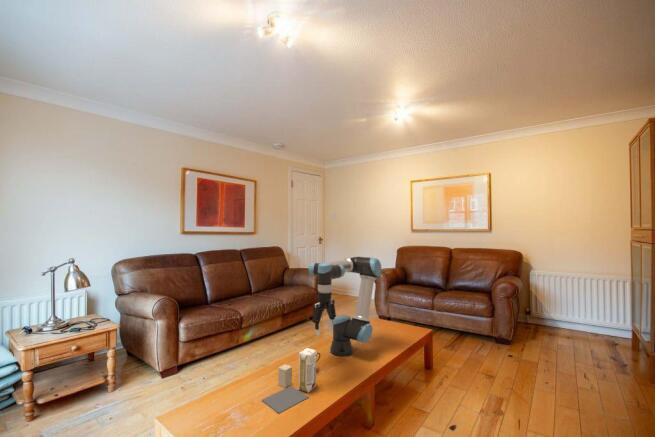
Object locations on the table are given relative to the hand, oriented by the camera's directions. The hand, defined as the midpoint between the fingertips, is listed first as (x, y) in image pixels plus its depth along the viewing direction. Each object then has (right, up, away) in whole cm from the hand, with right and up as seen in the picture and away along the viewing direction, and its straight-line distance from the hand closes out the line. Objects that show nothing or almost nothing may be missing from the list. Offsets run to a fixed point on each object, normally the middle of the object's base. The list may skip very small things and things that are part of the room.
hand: (324, 333), depth 163 cm
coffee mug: (-7, -26, +9) cm, 28 cm away
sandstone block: (-21, -25, -6) cm, 33 cm away
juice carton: (-9, -25, -9) cm, 28 cm away
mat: (-19, -25, -19) cm, 36 cm away
